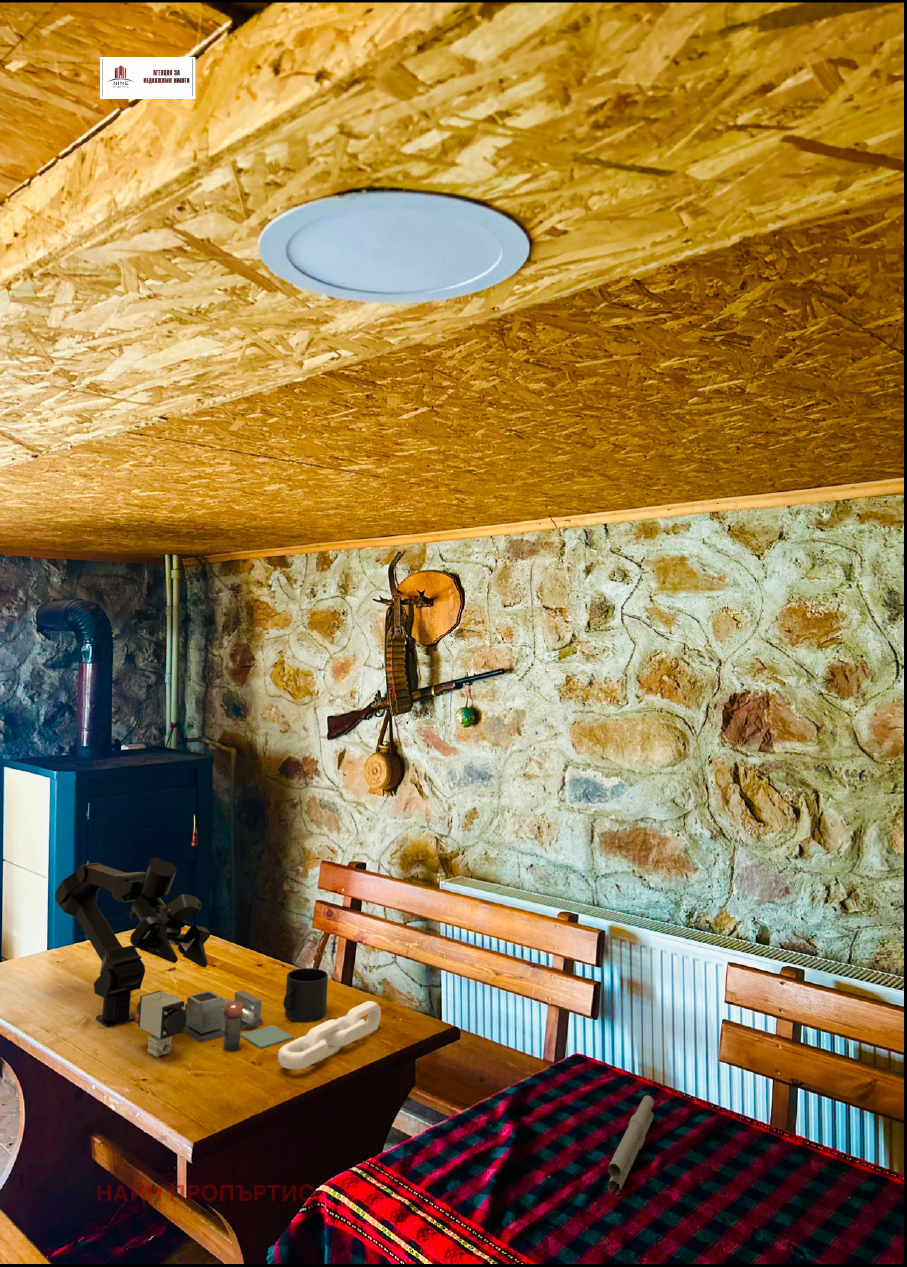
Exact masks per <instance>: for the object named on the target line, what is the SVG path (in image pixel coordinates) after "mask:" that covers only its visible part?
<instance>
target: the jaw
mask: <svg viewBox="0 0 907 1267" xmlns="http://www.w3.org/2000/svg"><path fill="white" fill-rule="evenodd" d="M186 1000H187V1001H186V1003H184V1010H186V1017H187V1020H186V1024H187V1025H189V1026H190V1027H192V1028H193V1029H195V1030H196V1031H198V1032H199V1033H201V1034H202V1033H206V1032H209V1031H213V1030H216V1029H220V1028H223V1012H225V1010H224V1009H223V1008H222V1002H223V997H222V996H221V995H220V994H217V993H216V992H214V991H213V990H208V991H207V990H206V991H202V992H197V993H194V994H190V995H189V996H187V999H186Z"/></svg>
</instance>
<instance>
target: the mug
mask: <svg viewBox="0 0 907 1267" xmlns="http://www.w3.org/2000/svg"><path fill="white" fill-rule="evenodd" d="M328 979H329V974H328V973H327V971H325V970H324V969H319V968H313V967H310V968H309V967H305V968H304V967H303V968H302V967H301V968H297V969H294V970H291V971H289V972H288V973H287V975H286V984H285V985H286V987H285V995H284V998H283V1008H284V1015H285V1018H287V1020H288V1019H289V1020H291V1021H294V1022H299V1023H311V1022H316V1021H318V1020H320V1019H323V1018H324V1017H325V1016H326V1015H327V1002H328V1000H327V999H328V982H329V980H328Z"/></svg>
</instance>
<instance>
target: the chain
mask: <svg viewBox="0 0 907 1267" xmlns="http://www.w3.org/2000/svg"><path fill="white" fill-rule="evenodd" d="M366 1015H367V1018H366V1020H364V1019H363V1018H362V1017H364V1016H366ZM381 1019H382V1010H381V1007H380V1005H379V1004H378V1003H377V1002H376V1001H373V1000H367V1001H364V1002H363V1003H361V1004H359V1005H356V1006H355V1007H353V1008H351V1009H349V1010H348V1012H347V1013H346V1015H344V1016H341V1017H338V1018H336V1019H333V1018H332V1019H328V1020H326V1021H324V1022H322V1023H320V1024H318V1025H316V1026H314V1027H312V1028H310V1029H309V1031H308V1032H307V1033H306V1034H305V1035H303V1036H299V1037H298V1038H296V1039H293V1040H292V1041H290V1042H288V1043H286V1044H284V1045H282V1046H281V1047H280V1048H279V1050H278V1053H277V1060H278V1064H279V1065H280V1066H281V1067H283V1068H285V1069H288V1070H303V1069H306V1068H307V1067H309V1066H311V1065H313V1064H316V1063H315V1062H318V1061H321V1060H322V1059H324V1058H326V1057H328V1056H329V1055H331V1054H333V1053H334V1052H337V1051H338V1050H339V1049H340V1050H341V1049H342V1047H345V1046H347V1045H350V1044H351V1043H354V1042H353V1041H355V1040H358V1039H360V1038H362V1037H363V1036H365V1035H368V1034H369V1033H372V1032H373V1031H375V1030H376V1031H377V1029H378V1027H380V1023H381ZM376 1031H375V1032H376ZM372 1034H373V1033H372ZM368 1036H369V1035H368ZM340 1050H339V1051H340ZM339 1051H338V1052H339ZM338 1052H337V1053H338ZM328 1058H329V1057H328ZM321 1062H322V1061H321Z"/></svg>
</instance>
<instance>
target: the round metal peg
mask: <svg viewBox="0 0 907 1267" xmlns="http://www.w3.org/2000/svg"><path fill="white" fill-rule="evenodd" d="M224 1012H225V1016H226V1019H225V1036H223V1037H224V1040H223V1050H224V1051H225V1052H228V1053H232V1052H236V1051H239V1050H240V1046H241V1034H242V1033H241V1032H242V1031H241V1015H242V1014H243V1003H242V1002H240V1001H235V1000H232V1001H231V1002H227V1003H226V1004H225V1010H224Z"/></svg>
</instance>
